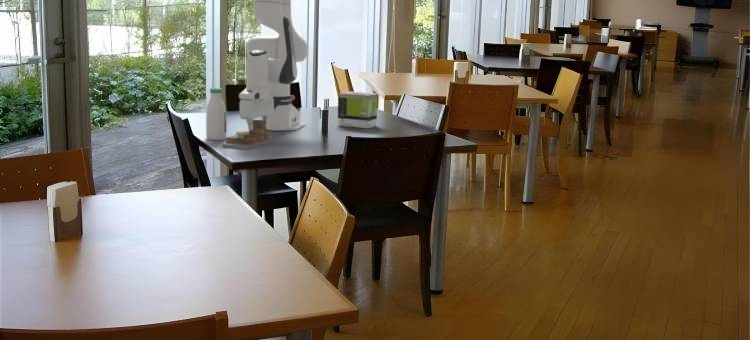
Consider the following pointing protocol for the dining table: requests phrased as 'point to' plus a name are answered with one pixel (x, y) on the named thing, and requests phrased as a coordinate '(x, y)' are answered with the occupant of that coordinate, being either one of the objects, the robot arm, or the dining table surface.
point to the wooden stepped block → (251, 135)
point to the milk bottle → (216, 116)
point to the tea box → (357, 109)
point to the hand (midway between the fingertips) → (257, 128)
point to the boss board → (239, 146)
